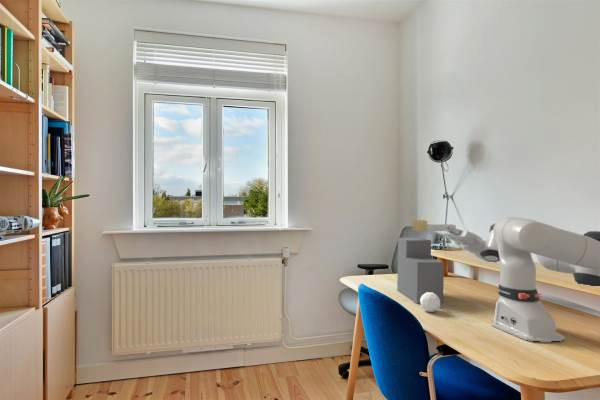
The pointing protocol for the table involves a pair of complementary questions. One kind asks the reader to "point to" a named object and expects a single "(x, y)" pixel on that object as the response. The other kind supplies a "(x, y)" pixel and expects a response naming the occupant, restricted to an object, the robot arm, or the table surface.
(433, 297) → the ball
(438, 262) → the grey tall stepped block
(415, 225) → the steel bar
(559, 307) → the table surface
